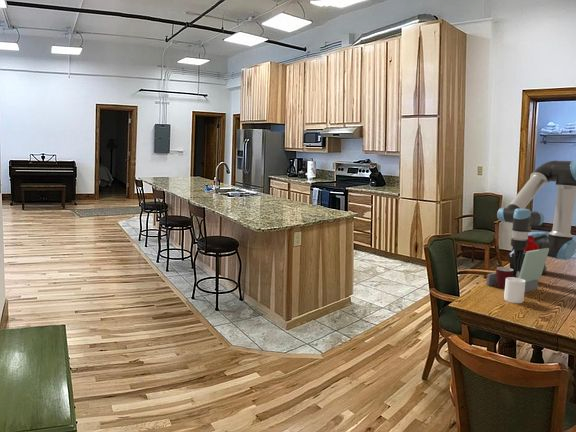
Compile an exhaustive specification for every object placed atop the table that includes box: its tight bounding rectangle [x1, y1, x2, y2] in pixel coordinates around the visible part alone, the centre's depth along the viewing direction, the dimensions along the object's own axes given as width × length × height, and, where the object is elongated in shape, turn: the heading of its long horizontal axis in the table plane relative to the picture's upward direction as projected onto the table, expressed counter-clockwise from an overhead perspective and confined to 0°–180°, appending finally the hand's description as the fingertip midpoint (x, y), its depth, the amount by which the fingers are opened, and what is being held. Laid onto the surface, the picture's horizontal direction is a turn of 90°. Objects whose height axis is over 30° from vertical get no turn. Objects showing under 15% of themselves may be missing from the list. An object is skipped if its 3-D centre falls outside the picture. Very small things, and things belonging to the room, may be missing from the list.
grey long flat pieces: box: [485, 272, 539, 293], centre depth 230 cm, size 18×16×6 cm
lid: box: [519, 248, 549, 282], centre depth 219 cm, size 18×16×1 cm
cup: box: [503, 277, 526, 304], centre depth 211 cm, size 8×12×10 cm
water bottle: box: [519, 236, 539, 275], centre depth 241 cm, size 9×11×25 cm
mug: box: [495, 266, 514, 290], centre depth 227 cm, size 10×8×10 cm
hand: (514, 283), depth 231 cm, fingers closed
